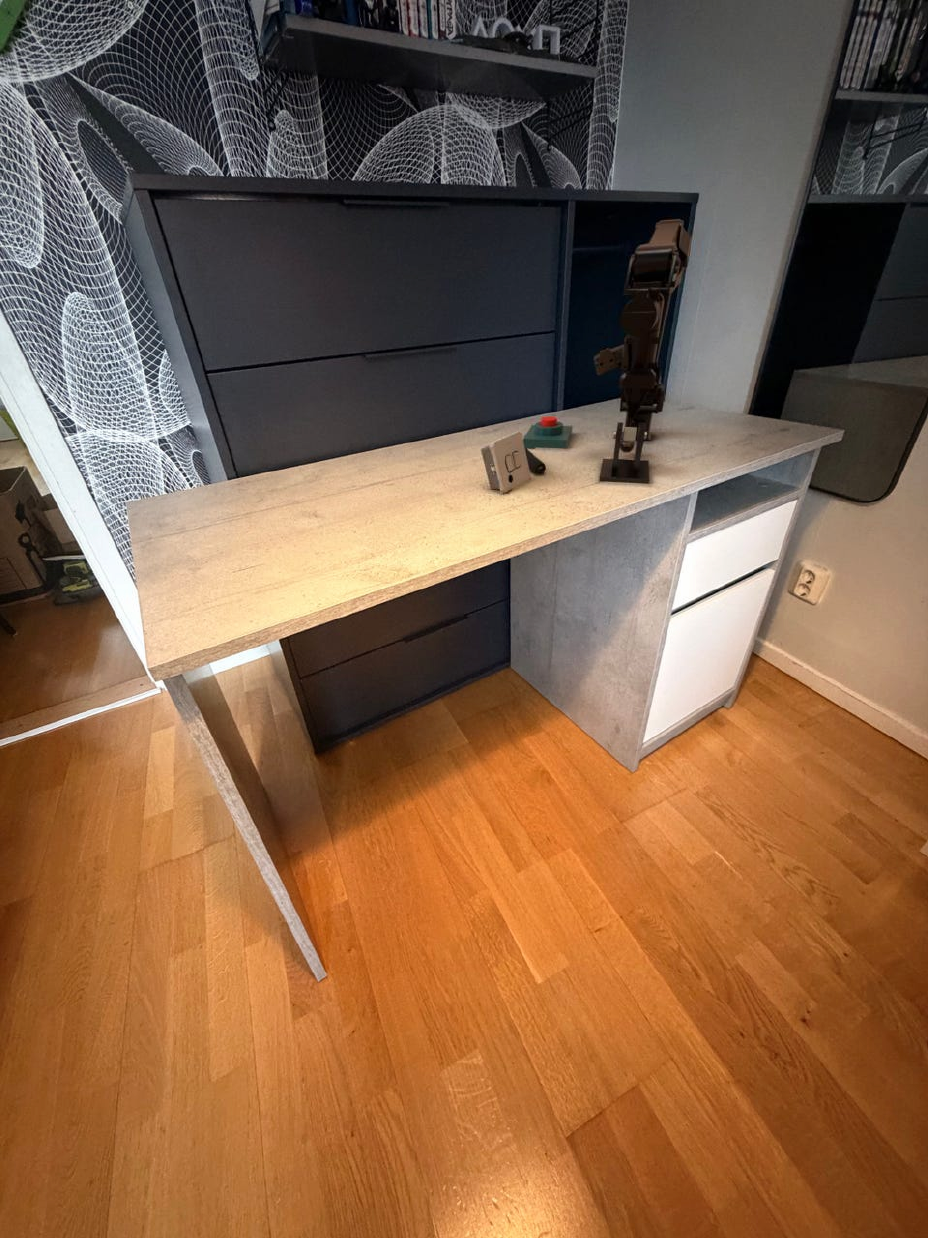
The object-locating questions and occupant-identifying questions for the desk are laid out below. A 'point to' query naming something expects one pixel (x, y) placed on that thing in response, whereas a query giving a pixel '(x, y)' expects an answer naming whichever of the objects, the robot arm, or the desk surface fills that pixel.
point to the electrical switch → (506, 462)
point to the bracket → (626, 462)
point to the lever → (628, 439)
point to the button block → (547, 436)
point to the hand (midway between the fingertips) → (630, 418)
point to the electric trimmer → (534, 462)
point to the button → (548, 421)
